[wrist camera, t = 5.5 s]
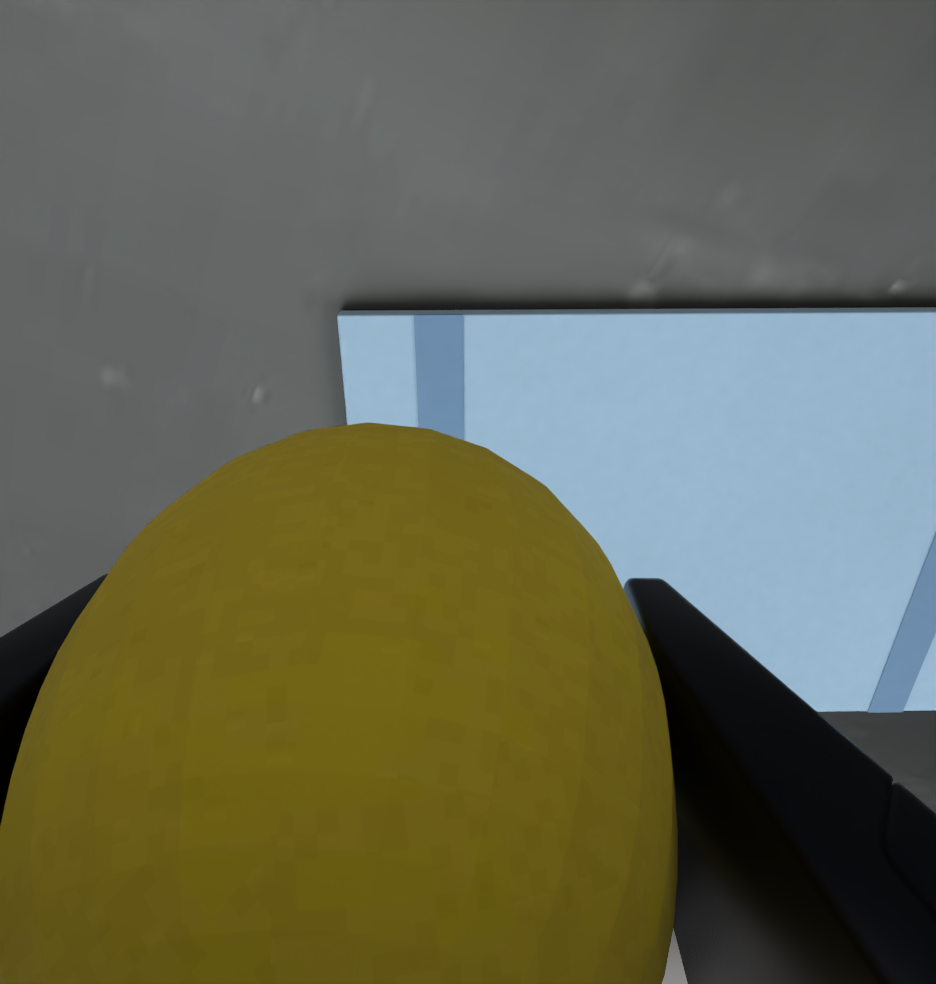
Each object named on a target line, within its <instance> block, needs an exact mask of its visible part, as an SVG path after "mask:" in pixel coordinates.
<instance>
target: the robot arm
mask: <svg viewBox="0 0 936 984" xmlns="http://www.w3.org/2000/svg"><path fill="white" fill-rule="evenodd" d="M107 575H108V574H105V575H103V576H102V577H100V578H98V579H97V580H95V581H93V582H92V583H90V584H88V585H87V586H85V587H83V588H82V589H80V590H78V591H77V592H75V593H73V594H72V595H70V596H68V597H67V598H65V599H63V600H62V601H60V602H59V603H57V604H55V605H54V606H52V607H50V608H49V609H47V610H45V611H44V612H42V613H40V614H39V615H37V616H35V617H34V618H32V619H30V620H29V621H27V622H25V623H24V624H22V625H20V626H19V627H17V628H15V629H14V630H12V631H10V632H9V633H7V634H5V635H4V636H2V637H0V826H1V821H2V816H3V812H4V807H5V803H6V798H7V793H8V789H9V784H10V780H11V776H12V772H13V769H14V766H15V762H16V759H17V755H18V752H19V749H20V745H21V742H22V739H23V735H24V732H25V729H26V726H27V724H28V721H29V718H30V716H31V713H32V710H33V708H34V705H35V702H36V700H37V697H38V694H39V692H40V689H41V687H42V685H43V683H44V680H45V678H46V676H47V674H48V672H49V670H50V667H51V665H52V663H53V661H54V659H55V657H56V655H57V653H58V651H59V649H60V647H61V646H62V644H63V642H64V640H65V639H66V637H67V635H68V634H69V632H70V630H71V628H72V627H73V625H74V623H75V622H76V620H77V619H78V617H79V616H80V614H81V613H82V611H83V610H84V608H85V607H86V606H87V604H88V603H89V601H90V600H91V598H92V597H93V595H94V594H95V592H96V591H97V590H98V588H99V587H100V585H101V584H102V582H103V581H104V579H105V578H106V576H107ZM623 590H624V592H625V594H626V596H627V598H628V600H629V602H630V604H631V606H632V608H633V610H634V612H635V614H636V617H637V619H638V621H639V623H640V625H641V627H642V629H643V632H644V634H645V636H646V638H647V640H648V643H649V646H650V649H651V652H652V655H653V658H654V661H655V664H656V667H657V670H658V674H659V679H660V683H661V688H662V692H663V696H664V701H665V707H666V715H667V722H668V730H669V737H670V747H671V756H672V766H673V775H674V785H675V795H676V812H677V829H678V862H677V888H676V901H675V915H674V926H673V928H674V932H675V935H676V939H677V943H678V947H679V950H680V955H681V959H682V963H683V966H684V970H685V974H686V978H687V982H688V984H936V813H934V812H933V811H932V810H931V809H930V808H928V807H927V806H926V805H925V804H924V803H923V802H921V801H920V800H919V799H918V798H917V797H916V796H915V795H913V794H912V793H911V792H910V791H909V790H908V789H906V788H905V787H904V786H903V785H902V784H900V783H898V782H895V783H893V784H892V781H893V779H892V776H891V775H890V774H889V773H887V772H886V771H885V770H884V769H883V768H882V767H880V766H879V765H878V764H877V763H876V762H875V761H874V760H872V759H871V758H870V757H869V756H868V755H867V754H865V753H864V752H863V751H862V750H861V749H860V748H858V747H857V746H856V745H855V744H854V743H853V742H851V741H850V740H849V739H848V738H847V737H846V736H845V735H843V734H842V733H841V732H840V731H839V730H838V729H836V728H835V727H834V726H833V725H832V724H831V723H829V722H828V721H827V720H826V719H825V718H824V717H823V716H821V715H820V714H819V713H818V712H817V711H816V710H814V709H813V708H812V707H811V706H810V705H809V704H807V703H806V702H805V701H804V700H803V699H802V698H800V697H799V696H798V695H797V694H796V693H795V692H794V691H792V690H791V689H790V688H789V687H788V686H787V685H785V684H784V683H783V682H782V681H781V680H780V679H778V678H777V677H776V676H775V675H774V674H773V673H772V672H770V671H769V670H768V669H767V668H766V667H765V666H763V665H762V664H761V663H760V662H759V661H758V660H756V659H755V658H754V657H753V656H752V655H751V654H749V653H748V652H747V651H746V650H745V649H744V648H743V647H741V646H740V645H739V644H738V643H737V642H736V641H734V640H733V639H732V638H731V637H730V636H729V635H727V634H726V633H725V632H724V631H723V630H722V629H721V628H719V627H718V626H717V625H716V624H715V623H714V622H712V621H711V620H710V619H709V618H708V617H707V616H705V615H704V614H703V613H702V612H701V611H700V610H698V609H697V608H696V607H695V606H694V605H693V604H692V603H690V602H689V601H688V600H687V599H686V598H685V597H683V596H682V595H681V594H680V593H679V592H678V591H676V590H675V589H674V588H673V587H672V586H671V585H670V584H668V583H667V582H666V581H664V580H663V579H661V578H630V579H628V580H627V581H626V583H625V585H624V588H623Z"/></svg>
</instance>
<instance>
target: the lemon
mask: <svg viewBox="0 0 936 984" xmlns="http://www.w3.org/2000/svg"><path fill="white" fill-rule="evenodd" d="M677 862H678V829H677V812H676V795H675V785H674V775H673V766H672V756H671V747H670V737H669V730H668V722H667V715H666V707H665V701H664V696H663V692H662V688H661V683H660V679H659V674H658V670H657V667H656V664H655V661H654V658H653V655H652V652H651V649H650V646H649V643H648V640H647V638H646V636H645V634H644V632H643V629H642V627H641V625H640V623H639V621H638V619H637V617H636V614H635V612H634V610H633V608H632V606H631V604H630V602H629V600H628V598H627V596H626V594H625V592H624V590H623V588H622V585H621V583H620V581H619V579H618V577H617V575H616V573H615V571H614V569H613V567H612V565H611V563H610V561H609V560H608V558H607V557H606V555H605V553H604V552H603V550H602V549H601V547H600V545H599V544H598V543H597V542H596V540H595V539H594V538H593V537H592V536H591V535H590V533H589V532H588V531H587V530H586V529H585V528H584V527H583V525H582V524H581V523H580V522H579V521H578V520H577V519H576V518H575V517H574V516H573V515H572V514H571V512H570V511H569V510H568V509H567V508H566V507H565V506H564V505H563V504H562V503H561V502H560V501H559V499H558V498H557V497H556V496H555V495H554V494H553V493H552V492H551V491H550V490H549V489H548V487H547V486H545V485H544V484H542V483H541V482H539V481H538V480H537V479H535V478H534V477H532V476H530V475H529V474H527V473H526V472H524V471H522V470H521V469H519V468H518V467H516V466H514V465H513V464H511V463H510V462H508V461H506V460H505V459H503V458H502V457H500V456H498V455H497V454H495V453H494V452H492V451H490V450H489V449H487V448H485V447H482V446H479V445H476V444H473V443H470V442H467V441H464V440H461V439H458V438H456V437H453V436H450V435H447V434H444V433H441V432H438V431H435V430H432V429H428V428H418V427H409V426H399V425H389V424H379V423H370V422H366V423H359V424H351V425H344V426H336V427H329V428H321V429H314V430H307V431H304V432H301V433H298V434H295V435H292V436H290V437H287V438H285V439H282V440H280V441H277V442H274V443H272V444H269V445H267V446H264V447H262V448H259V449H257V450H254V451H251V452H249V453H246V454H244V455H241V456H239V457H236V458H235V459H233V460H232V461H230V462H228V463H227V464H225V465H224V466H222V467H220V468H219V469H218V470H216V471H215V472H213V473H212V474H211V475H209V476H208V477H207V478H205V479H204V480H203V481H201V482H200V483H199V484H197V485H196V486H195V487H193V488H192V489H191V490H189V491H188V492H187V493H185V494H184V495H183V496H181V497H180V498H179V499H177V500H176V501H175V502H173V503H172V504H171V505H169V506H168V507H167V508H166V509H165V510H163V511H162V512H161V513H160V514H159V515H158V516H156V517H155V518H154V519H153V520H152V521H151V522H150V523H149V524H148V525H147V526H146V527H145V528H144V529H143V530H142V531H141V532H140V533H139V535H138V536H137V537H136V538H135V539H134V540H133V541H132V542H131V543H130V545H129V546H128V547H127V549H126V550H125V551H124V553H123V554H122V556H121V557H120V558H119V560H118V561H117V562H116V564H115V565H114V567H113V568H112V569H111V571H110V572H109V574H108V575H107V576H106V578H105V579H104V581H103V582H102V584H101V585H100V587H99V588H98V590H97V591H96V592H95V594H94V595H93V597H92V598H91V600H90V601H89V603H88V604H87V606H86V607H85V608H84V610H83V611H82V613H81V614H80V616H79V617H78V619H77V620H76V622H75V623H74V625H73V627H72V628H71V630H70V632H69V634H68V635H67V637H66V639H65V640H64V642H63V644H62V646H61V647H60V649H59V651H58V653H57V655H56V657H55V659H54V661H53V663H52V665H51V667H50V670H49V672H48V674H47V676H46V678H45V680H44V683H43V685H42V687H41V689H40V692H39V694H38V697H37V700H36V702H35V705H34V708H33V710H32V713H31V716H30V718H29V721H28V724H27V726H26V729H25V732H24V735H23V739H22V742H21V745H20V749H19V752H18V755H17V759H16V762H15V766H14V769H13V772H12V776H11V780H10V784H9V789H8V793H7V798H6V803H5V807H4V812H3V816H2V821H1V826H0V984H661V983H662V981H663V978H664V974H665V969H666V963H667V958H668V952H669V947H670V942H671V936H672V931H673V926H674V915H675V901H676V888H677Z"/></svg>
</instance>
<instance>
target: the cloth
mask: <svg viewBox="0 0 936 984" xmlns="http://www.w3.org/2000/svg"><path fill="white" fill-rule="evenodd" d="M337 320H338V331H339V341H340V352H341V363H342V373H343V384H344V395H345V405H346V416H347V425H351V424H359V423H366V422H370V423H379V424H389V425H399V426H409V427H418V428H428V429H432V430H435V431H438V432H441V433H444V434H447V435H450V436H453V437H456V438H458V439H461V440H464V441H467V442H470V443H473V444H476V445H479V446H482V447H485V448H487V449H489V450H490V451H492V452H494V453H495V454H497V455H498V456H500V457H502V458H503V459H505V460H506V461H508V462H510V463H511V464H513V465H514V466H516V467H518V468H519V469H521V470H522V471H524V472H526V473H527V474H529V475H530V476H532V477H534V478H535V479H537V480H538V481H539V482H541V483H542V484H544V485H545V486H547V487H548V489H549V490H550V491H551V492H552V493H553V494H554V495H555V496H556V497H557V498H558V499H559V501H560V502H561V503H562V504H563V505H564V506H565V507H566V508H567V509H568V510H569V511H570V512H571V514H572V515H573V516H574V517H575V518H576V519H577V520H578V521H579V522H580V523H581V524H582V525H583V527H584V528H585V529H586V530H587V531H588V532H589V533H590V535H591V536H592V537H593V538H594V539H595V540H596V542H597V543H598V544H599V545H600V547H601V549H602V550H603V552H604V553H605V555H606V557H607V558H608V560H609V561H610V563H611V565H612V567H613V569H614V571H615V573H616V575H617V577H618V579H619V581H620V583H621V585H622V588H624V585H625V583H626V581H627V580H628V579H630V578H661V579H663V580H664V581H666V582H667V583H668V584H670V585H671V586H672V587H673V588H674V589H675V590H676V591H678V592H679V593H680V594H681V595H682V596H683V597H685V598H686V599H687V600H688V601H689V602H690V603H692V604H693V605H694V606H695V607H696V608H697V609H698V610H700V611H701V612H702V613H703V614H704V615H705V616H707V617H708V618H709V619H710V620H711V621H712V622H714V623H715V624H716V625H717V626H718V627H719V628H721V629H722V630H723V631H724V632H725V633H726V634H727V635H729V636H730V637H731V638H732V639H733V640H734V641H736V642H737V643H738V644H739V645H740V646H741V647H743V648H744V649H745V650H746V651H747V652H748V653H749V654H751V655H752V656H753V657H754V658H755V659H756V660H758V661H759V662H760V663H761V664H762V665H763V666H765V667H766V668H767V669H768V670H769V671H770V672H772V673H773V674H774V675H775V676H776V677H777V678H778V679H780V680H781V681H782V682H783V683H784V684H785V685H787V686H788V687H789V688H790V689H791V690H792V691H794V692H795V693H796V694H797V695H798V696H799V697H800V698H802V699H803V700H804V701H805V702H806V703H807V704H809V705H810V706H811V707H812V708H813V709H814V710H816V711H867V712H868V713H870V712H903V710H936V307H892V308H716V309H540V310H364V311H339V313H338V315H337Z"/></svg>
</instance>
